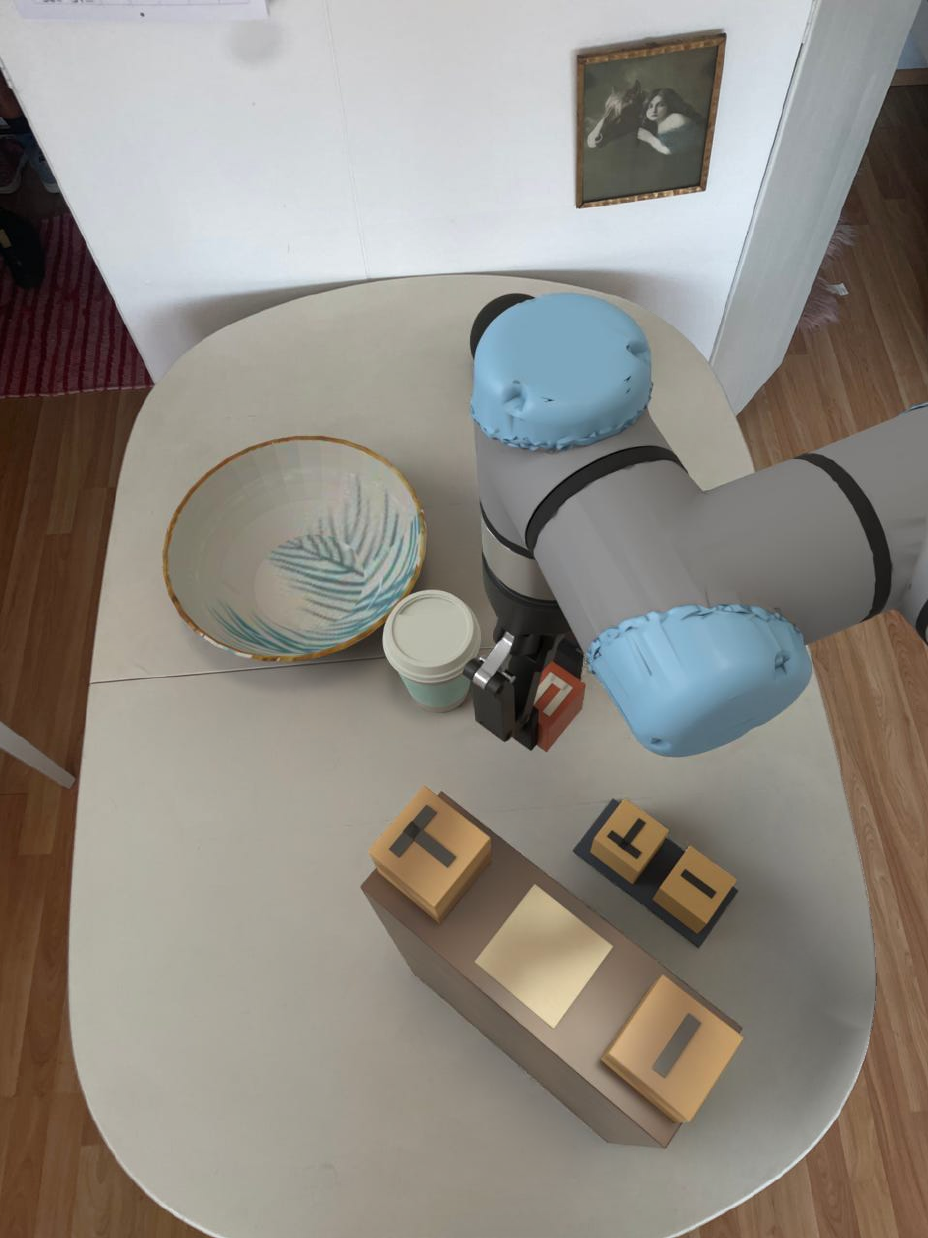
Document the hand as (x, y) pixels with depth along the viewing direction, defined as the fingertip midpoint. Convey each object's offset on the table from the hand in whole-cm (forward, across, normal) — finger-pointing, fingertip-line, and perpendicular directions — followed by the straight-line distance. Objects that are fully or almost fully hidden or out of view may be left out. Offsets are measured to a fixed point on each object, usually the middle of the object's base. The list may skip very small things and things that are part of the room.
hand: (540, 711), depth 74 cm
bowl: (+17, -3, -31) cm, 36 cm away
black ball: (+17, -37, -31) cm, 52 cm away
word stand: (+17, +16, +12) cm, 26 cm away
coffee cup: (+17, -2, -13) cm, 22 cm away
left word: (+17, 0, +13) cm, 22 cm away
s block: (0, 0, 0) cm, 0 cm away
